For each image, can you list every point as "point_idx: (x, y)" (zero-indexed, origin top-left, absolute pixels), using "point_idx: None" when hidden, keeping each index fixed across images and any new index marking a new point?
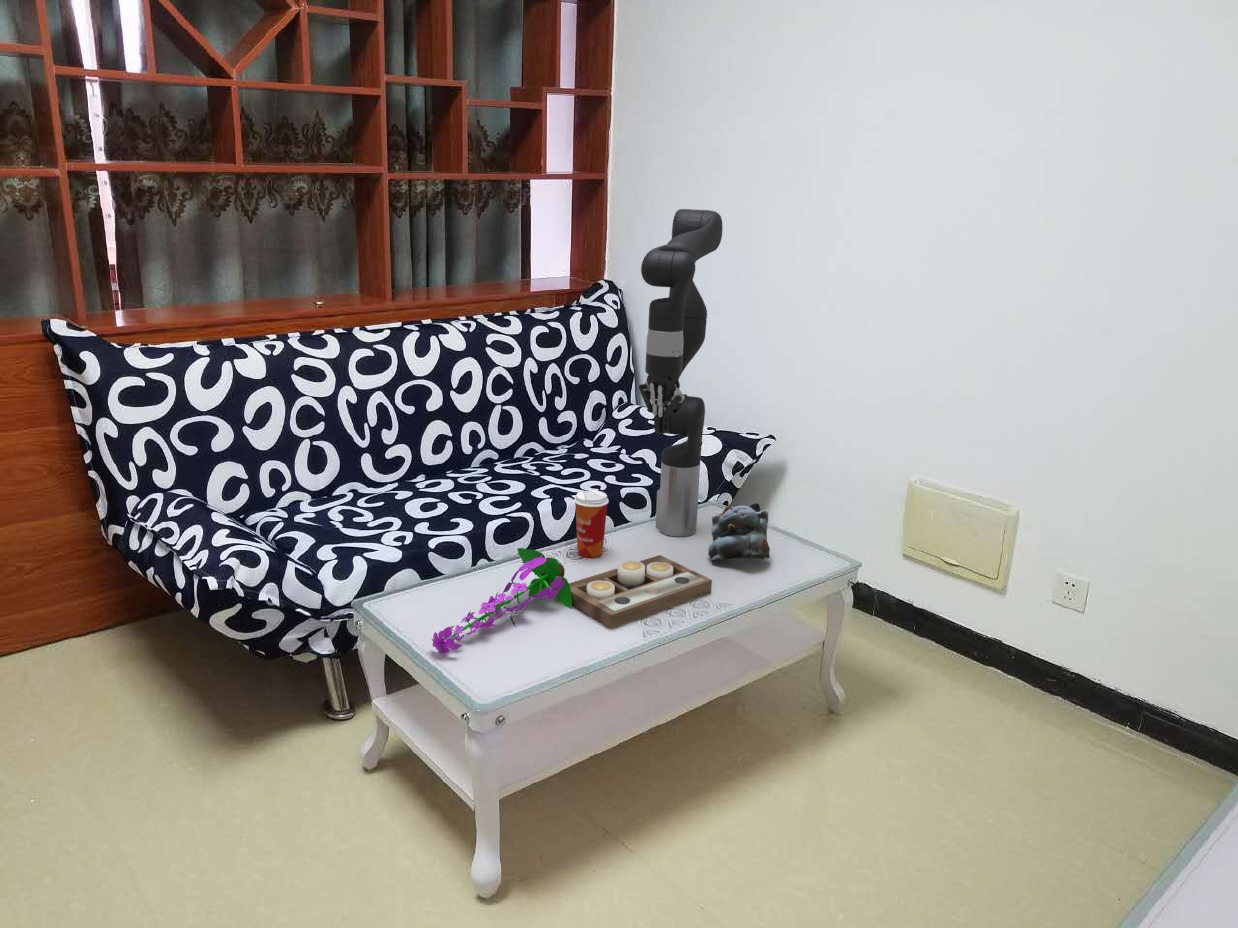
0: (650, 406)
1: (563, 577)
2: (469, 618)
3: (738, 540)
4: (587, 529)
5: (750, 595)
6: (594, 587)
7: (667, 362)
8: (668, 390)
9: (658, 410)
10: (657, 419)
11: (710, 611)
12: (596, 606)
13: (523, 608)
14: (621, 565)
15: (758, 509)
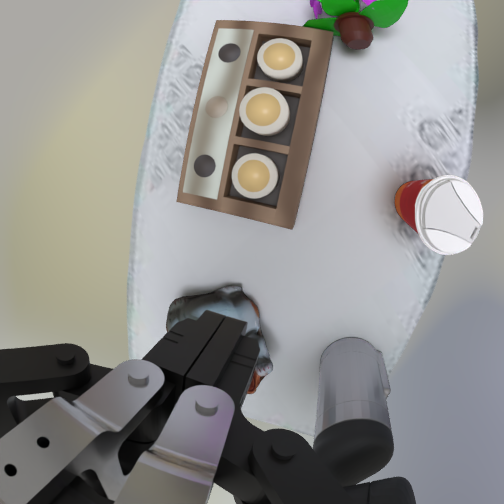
0: (256, 458)
1: (322, 18)
2: None
3: (191, 314)
4: (421, 181)
5: (149, 229)
6: (281, 45)
7: None
8: None
9: (143, 404)
10: (192, 361)
11: (158, 152)
12: (247, 21)
13: None
14: (277, 99)
15: None
